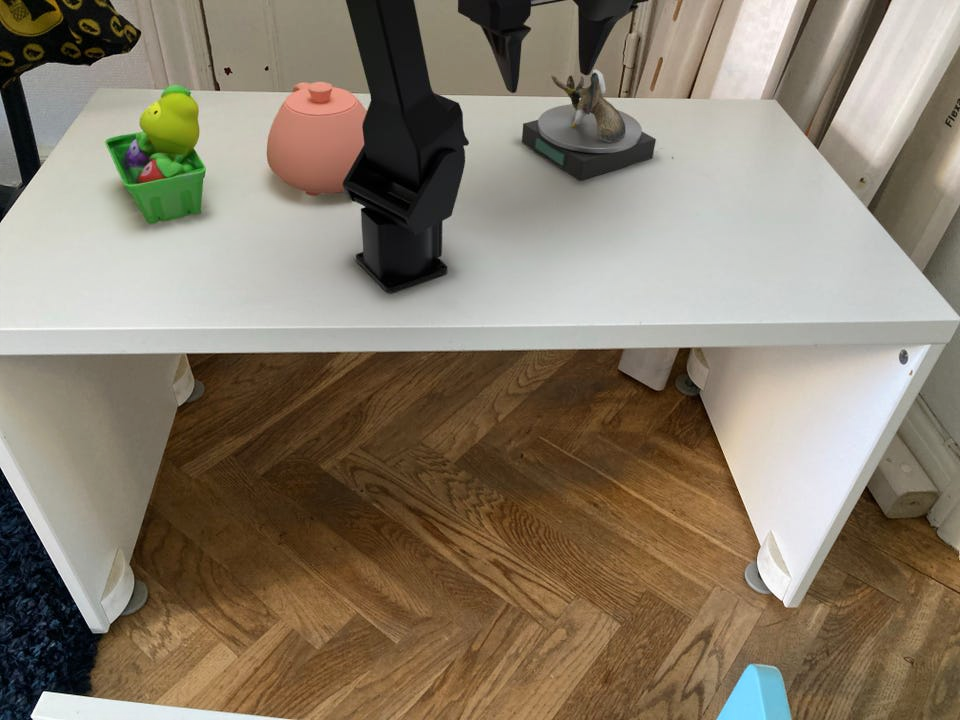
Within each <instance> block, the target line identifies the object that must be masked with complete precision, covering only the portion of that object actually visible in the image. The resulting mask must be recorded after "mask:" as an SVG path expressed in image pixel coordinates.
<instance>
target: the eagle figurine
mask: <svg viewBox="0 0 960 720" xmlns="http://www.w3.org/2000/svg"><path fill="white" fill-rule="evenodd" d="M551 80H552V81H553V84H554V85H555V86H556V87H558V88H559V89H561V90H563V91H564V92H565V94H567V96H568V97H569V98H570V101H571V104H572V105H573V107H574V108H575V110H576V114H575V117H574V122H573V124H572V126H571V127H574V126H575V125H577V124H580V123H581V121H582V120H583V118H584V116H585V115H586V114H588V115H589V113H592V114H594V115H595V118H596V121H597V125H598V126H597V136H598V139H602V140H603V141H607V142H609V143H612V142H614V143H616V142H617V140H621V137H624V135H623V134H625V131H626V130H625V129H626V127H625V123H624V122H623V119H622V117H621V116H620V114H619V112H618V111H617V110H618V109H617V108H615V106H614V105H612V103H610V101H608V100H607V99H605V98H604V96H603V95H604V94H606V92H607V91H606V90H607V88H606V83H605V78H604V75H603V73H602V72H601V71H600V70H599V69H592V71H591V76H590V79H589V80H590V85H589V86H587V87H584V85H585V77H584V76H582V75H581V76H580V80H579V83H578V84H577V85H576V86H575V80H574V77H573V75H569V76H567V79H566V84H564V83H563V82H562V81H560V80H559V79H558V77H556V76H555V75H553V74H552V75H551Z"/></svg>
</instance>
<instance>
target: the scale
mask: <svg viewBox="0 0 960 720" xmlns="http://www.w3.org/2000/svg"><path fill="white" fill-rule="evenodd" d="M656 142H657V139H656V138H655V137H653V136H651V135H649V134H647V133H646V132H644V131H642V134H641V138H640V140H639V142H638V143H637V144H636V145H634V146H633V147H631V148H629V149H626V150H623V151H619V152H613V153H584V152H578V151H573V150H569V149H565V148H562V147H560V146H557V145H555V144H553V143H551V142H549V141H548V140H546V139H545V138H544V137H543V136H542V135H541V134H540V133H539V130H538V119H536V120H531V121H528V122H523V123H522V133H521V143H522V144H523V145H525V146H526V147H528V148H529V149H531V150H532V151H534V152H536V153H537V154H539V155H540V156H542V157H543V158H545V159H546V160H548V161H549V162H551V163H552V164H554V165H556V166H557V167H559V168H560V169H561V170H563V171H565V172H566V173H568V174H569V175H571V176H573V177H574V178H576V179H577V180H578V181H584V180H587V179H590V178H593V177H597V176H600V175H603V174H607V173H609V172H612V171H616V170H619V169H622V168H626V167H629V166H632V165H635V164H637V163H642V162H644V161H648V160H651V159H653V157H654V152H655V148H656Z"/></svg>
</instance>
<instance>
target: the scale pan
mask: <svg viewBox="0 0 960 720" xmlns="http://www.w3.org/2000/svg"><path fill="white" fill-rule="evenodd" d="M616 110H617V111H618V112H619V114H620V116H621V117H622V119H623V122H624V123H625V127H626V129H625V130H626V131H625V134H623V135H624V137H621V140H617V142H616V143H614V142H612V143H609V142H607V141H603V140H602V139H598V136H597V126H598V125H597V121H596V118H595V115H594V114H592V113H589V115H588V114H586V115H585V116H584V118H583V120H582V121H581V123H580V124H577V125H575V126H574V127H571V126H572V124H573V122H574V117H575V114H576V110H575V108H574V107H573V105H572V103H570V104H564V105H563V104H562V105H558V106H555V107H552V108H549V109H547V110H545V111H544V112H543V113H541V114H540V116H539V117H538V118H537V120H538V130H539V133H540V134H541V135H542V136H543V137H544V138H545V139H546V140H548V141H549V142H551V143H553V144H555V145H557V146H560V147H562V148H565V149H569V150H573V151H578V152H584V153H613V152H619V151H623V150H626V149H629V148H631V147H633V146H634V145H636V144H637V143H638V142H639V140H640V138H641V134H642V132H643V128H642V125H641V124H640V122H639V121H638V120H637V119H635V118H634V117H633V116H632V115H630V114H628V113H626V112H624V111H621V110H619V109H616Z"/></svg>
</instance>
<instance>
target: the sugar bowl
mask: <svg viewBox="0 0 960 720" xmlns="http://www.w3.org/2000/svg"><path fill="white" fill-rule="evenodd" d="M366 112H367V109H366V107H365V106H364V105H363V104H362V102H361V101H360V100H359V98H358V97H357V96H355V94H353V93H352V92H351V91H349V90H346V89H343V88H341V87H340V88H339V87H334V86H333V85H332V84H331V83H329V82H325V81H314V82H311V83H309V82H307V81H306V82H299V83H297V84H295V85H294V86H293V89H292V93H290V94H289V95H288V96H287V97H286V98H285V99H284V101H283V103H282V104H281V105H280V107H279V108H278V111H277V113H276V114H275V117H274V119H273V121H272V124H271V126H270V129H269V132H268V136H267V143H266V161H267V164H268V166H269V168H270V171H272V173H273V174H274V175H275V176H276V177H277V178H279V179H280V180H281V181H282V182H283V183H285V184H286V185H288V186H289V187H291V188H293V189H295V190H298V191H301V192H304V193H305V195H307V196H310V197H316V196H320V195H322V194H335V193H337V194H338V193H343V192H345V189H344V187H343V181H344V179H345V177H346V176H347V174H348V172H349V170H350V169H351V167H352V165H353V163H354V162H355V160H356V158H357V156H358V155H359V153H360V151H361V149H362V148H363V146H364V137H363V129H362V124H363V120H364V118H365V115H366Z"/></svg>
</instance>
